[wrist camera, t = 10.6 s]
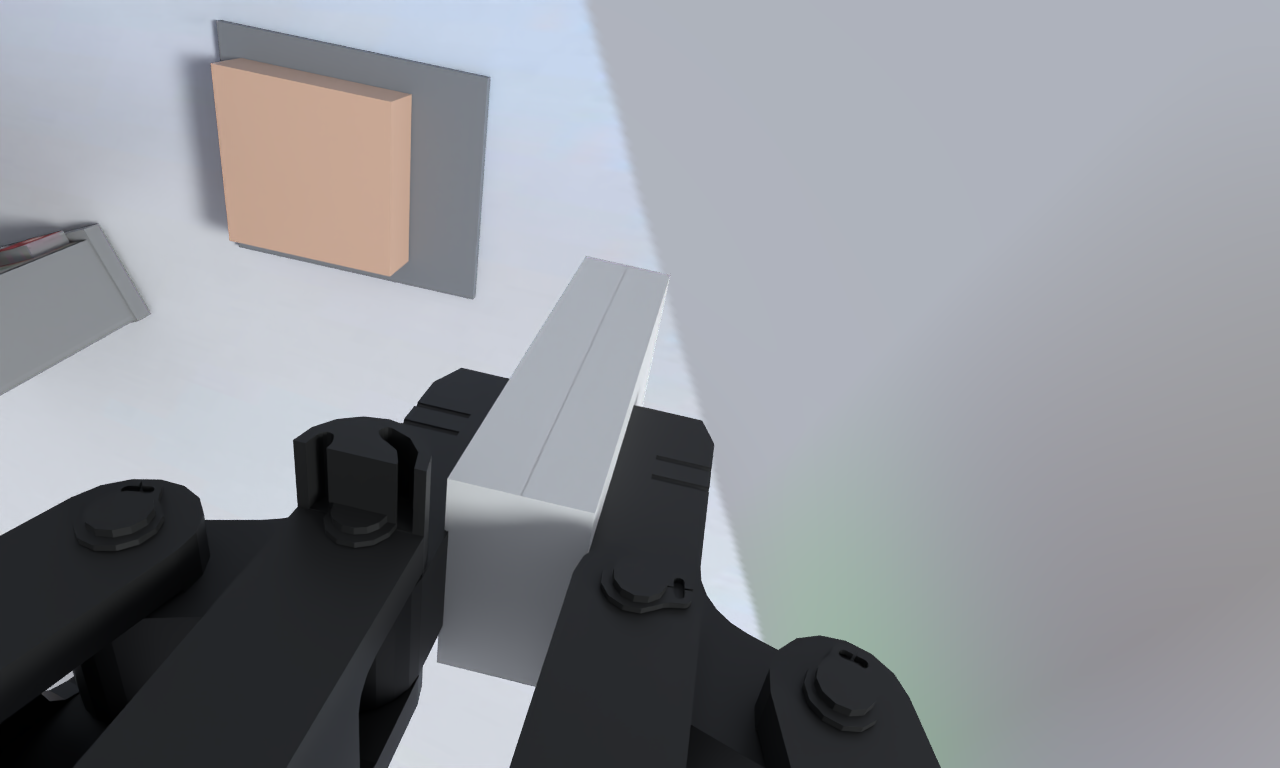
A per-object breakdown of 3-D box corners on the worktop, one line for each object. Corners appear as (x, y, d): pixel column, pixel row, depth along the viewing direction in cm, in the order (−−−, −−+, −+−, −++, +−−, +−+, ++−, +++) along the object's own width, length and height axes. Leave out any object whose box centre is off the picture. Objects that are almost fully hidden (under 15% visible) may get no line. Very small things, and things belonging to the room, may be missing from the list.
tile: (409, 260, 42) (256, 226, 43) (412, 94, 38) (242, 57, 38) (389, 276, 40) (229, 240, 41) (390, 101, 36) (210, 63, 36)
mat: (243, 244, 44) (239, 246, 44) (221, 20, 38) (216, 20, 38) (475, 296, 43) (472, 299, 43) (490, 77, 37) (487, 78, 37)
